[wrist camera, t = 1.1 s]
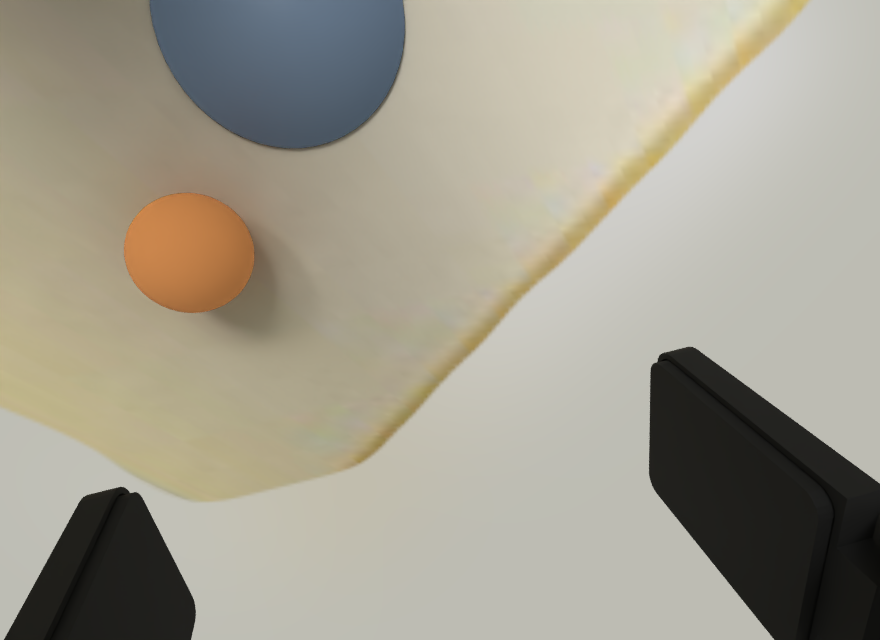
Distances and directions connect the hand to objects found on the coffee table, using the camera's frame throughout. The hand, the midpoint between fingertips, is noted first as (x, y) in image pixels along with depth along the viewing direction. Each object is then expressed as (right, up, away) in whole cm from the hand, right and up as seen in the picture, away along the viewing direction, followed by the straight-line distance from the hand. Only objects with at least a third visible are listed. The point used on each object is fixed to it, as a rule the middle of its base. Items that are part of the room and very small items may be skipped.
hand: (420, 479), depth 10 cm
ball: (-12, +6, +18) cm, 23 cm away
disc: (-7, +18, +17) cm, 26 cm away
